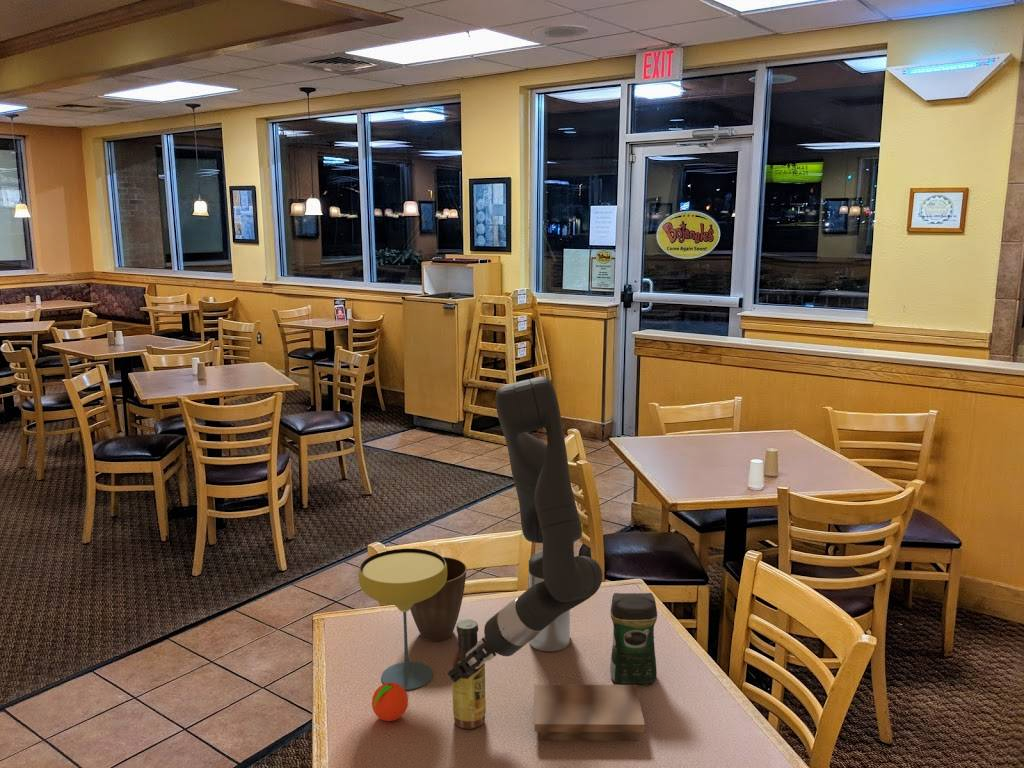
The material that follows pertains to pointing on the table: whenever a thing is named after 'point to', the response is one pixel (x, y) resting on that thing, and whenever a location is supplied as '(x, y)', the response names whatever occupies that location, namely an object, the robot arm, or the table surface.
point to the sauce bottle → (468, 681)
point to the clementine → (390, 701)
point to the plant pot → (442, 605)
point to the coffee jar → (633, 639)
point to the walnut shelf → (587, 712)
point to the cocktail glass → (404, 598)
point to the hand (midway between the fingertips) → (461, 668)
